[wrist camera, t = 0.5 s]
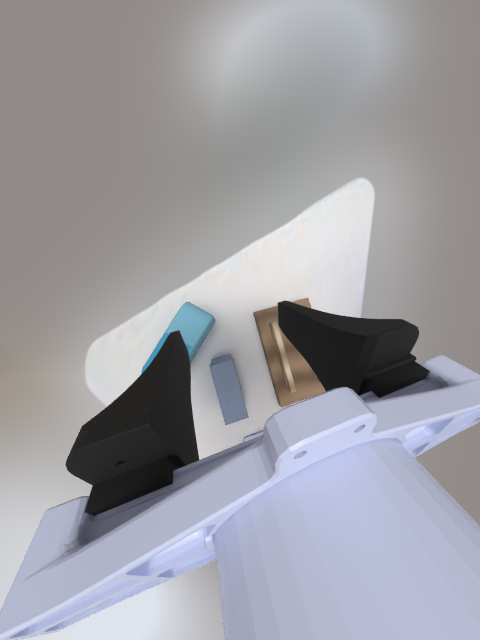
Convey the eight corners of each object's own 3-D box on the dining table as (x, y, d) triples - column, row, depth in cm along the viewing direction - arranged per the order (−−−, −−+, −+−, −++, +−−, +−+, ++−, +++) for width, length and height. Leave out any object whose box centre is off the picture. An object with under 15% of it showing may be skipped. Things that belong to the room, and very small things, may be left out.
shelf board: (329, 386, 39) (340, 392, 35) (278, 404, 37) (284, 411, 34) (304, 299, 39) (312, 296, 36) (253, 312, 38) (256, 311, 34)
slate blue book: (243, 400, 37) (248, 417, 30) (224, 406, 36) (225, 425, 29) (230, 353, 37) (232, 359, 30) (211, 359, 36) (209, 366, 29)
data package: (196, 309, 37) (185, 299, 25) (215, 320, 37) (213, 315, 25) (165, 360, 35) (136, 376, 23) (184, 371, 36) (167, 392, 24)
